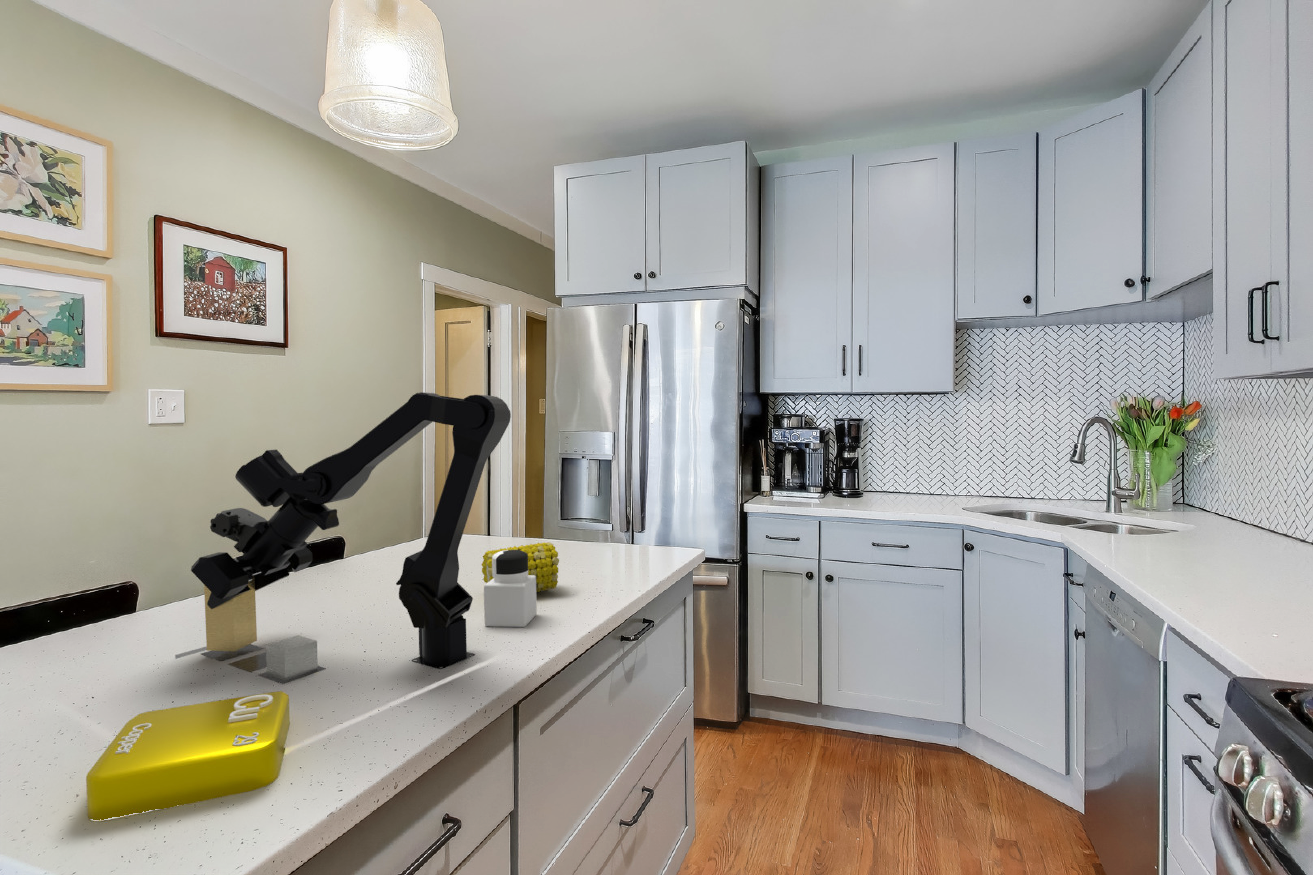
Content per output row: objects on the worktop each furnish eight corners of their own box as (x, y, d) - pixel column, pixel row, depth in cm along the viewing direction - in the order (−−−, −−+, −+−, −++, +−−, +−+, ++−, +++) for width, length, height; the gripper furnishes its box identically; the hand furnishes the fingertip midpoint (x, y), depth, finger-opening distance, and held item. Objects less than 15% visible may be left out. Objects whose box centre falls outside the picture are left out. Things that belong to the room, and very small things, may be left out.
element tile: (133, 751, 71) (132, 708, 71) (291, 724, 77) (290, 683, 77) (79, 831, 58) (77, 777, 57) (276, 790, 64) (275, 741, 63)
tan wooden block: (256, 640, 101) (254, 575, 100) (235, 651, 96) (232, 583, 96) (229, 639, 101) (227, 575, 101) (206, 650, 97) (204, 582, 97)
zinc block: (317, 669, 91) (316, 640, 91) (285, 680, 87) (284, 650, 87) (299, 663, 94) (298, 635, 94) (266, 673, 90) (265, 644, 90)
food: (478, 606, 123) (476, 552, 123) (483, 589, 135) (482, 540, 134) (560, 601, 126) (559, 548, 125) (558, 585, 137) (558, 537, 137)
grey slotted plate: (343, 669, 93) (343, 664, 93) (271, 695, 84) (271, 690, 84) (246, 638, 106) (246, 634, 106) (175, 658, 98) (175, 654, 98)
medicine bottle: (537, 614, 117) (536, 547, 117) (525, 627, 110) (524, 556, 110) (498, 613, 118) (496, 547, 118) (483, 626, 111) (482, 555, 110)
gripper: (292, 483, 107) (232, 550, 108) (201, 498, 88) (130, 579, 90) (340, 532, 106) (278, 599, 108) (257, 557, 88) (185, 637, 89)
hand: (222, 601), depth 99 cm, fingers closed on tan wooden block, 4 cm apart
